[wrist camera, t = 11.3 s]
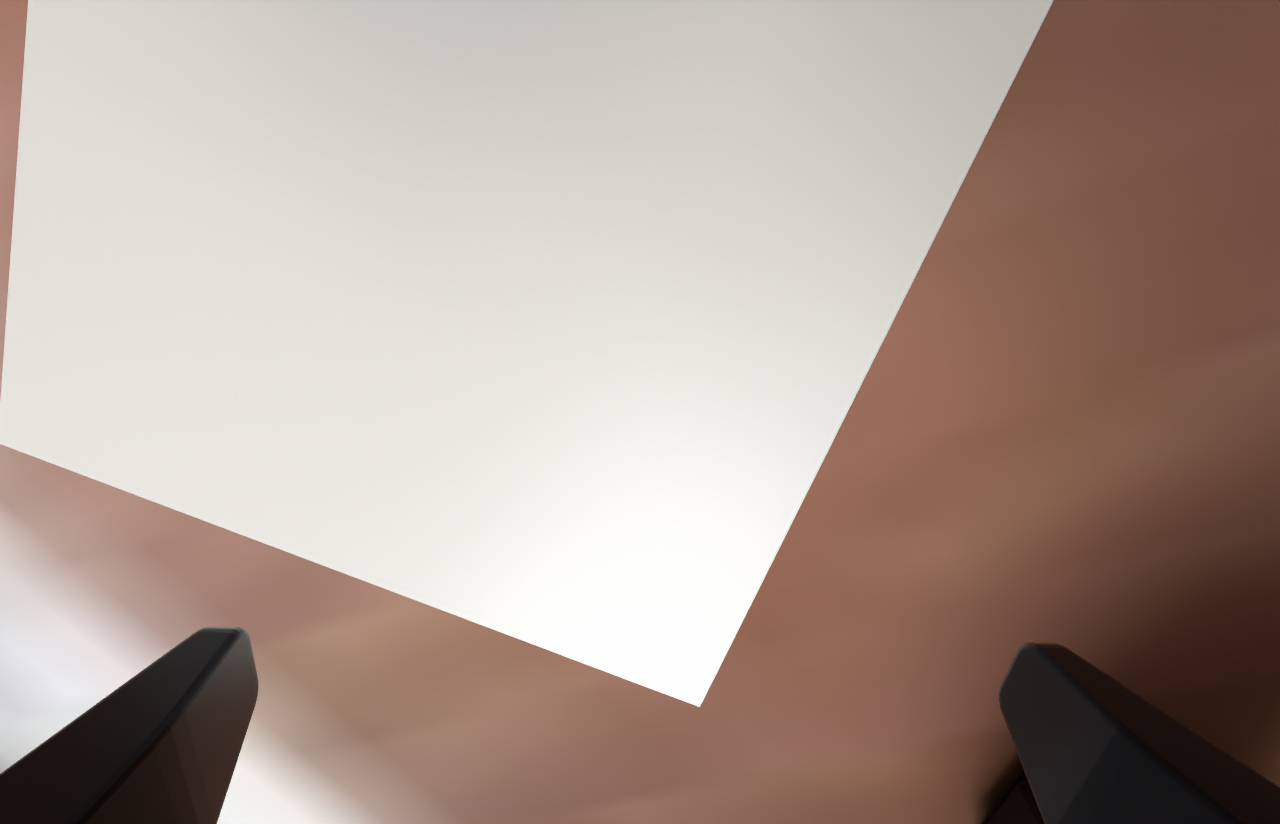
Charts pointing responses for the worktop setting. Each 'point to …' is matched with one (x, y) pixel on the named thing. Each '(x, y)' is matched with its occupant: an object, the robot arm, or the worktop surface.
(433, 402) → the white rectangular sheet
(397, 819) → the worktop surface
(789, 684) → the worktop surface
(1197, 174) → the worktop surface
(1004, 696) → the robot arm
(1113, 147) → the worktop surface
